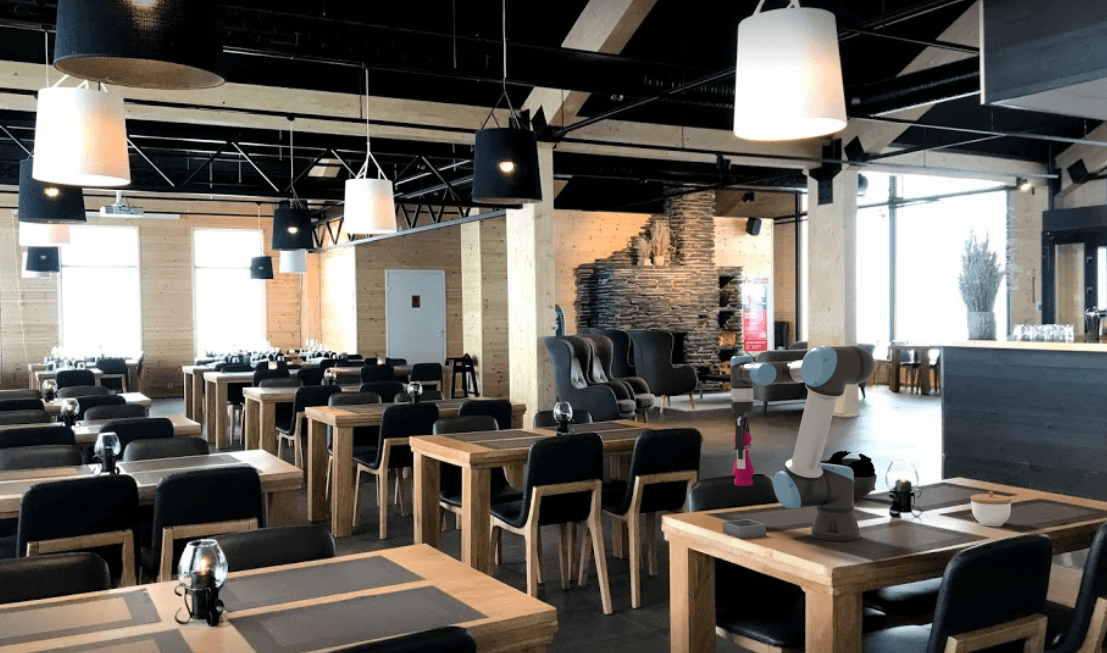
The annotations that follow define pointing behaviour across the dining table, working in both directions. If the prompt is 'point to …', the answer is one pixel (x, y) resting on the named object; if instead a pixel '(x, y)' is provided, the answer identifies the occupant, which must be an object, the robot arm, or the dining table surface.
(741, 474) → the pepper mill
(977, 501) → the lidded bowl
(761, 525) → the tray
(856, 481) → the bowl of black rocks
